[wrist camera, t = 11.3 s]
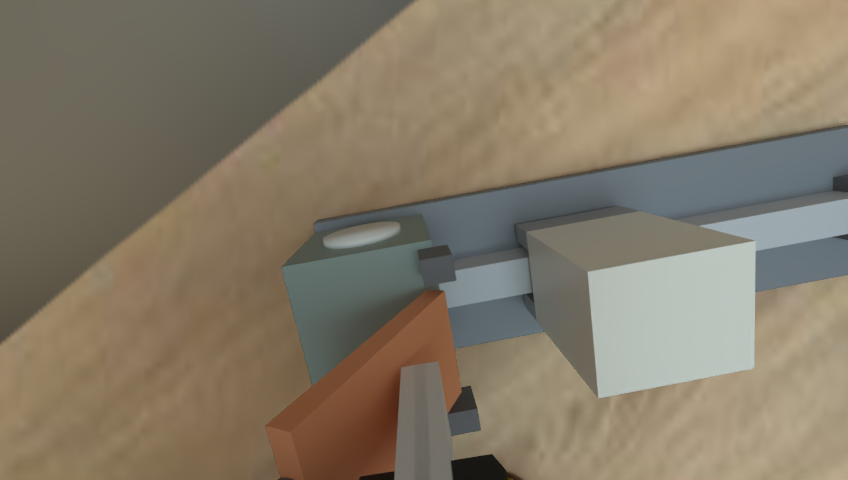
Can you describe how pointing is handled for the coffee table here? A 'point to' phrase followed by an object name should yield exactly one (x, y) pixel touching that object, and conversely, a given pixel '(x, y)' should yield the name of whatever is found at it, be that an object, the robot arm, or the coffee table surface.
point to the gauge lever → (364, 399)
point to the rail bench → (508, 206)
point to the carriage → (641, 297)
